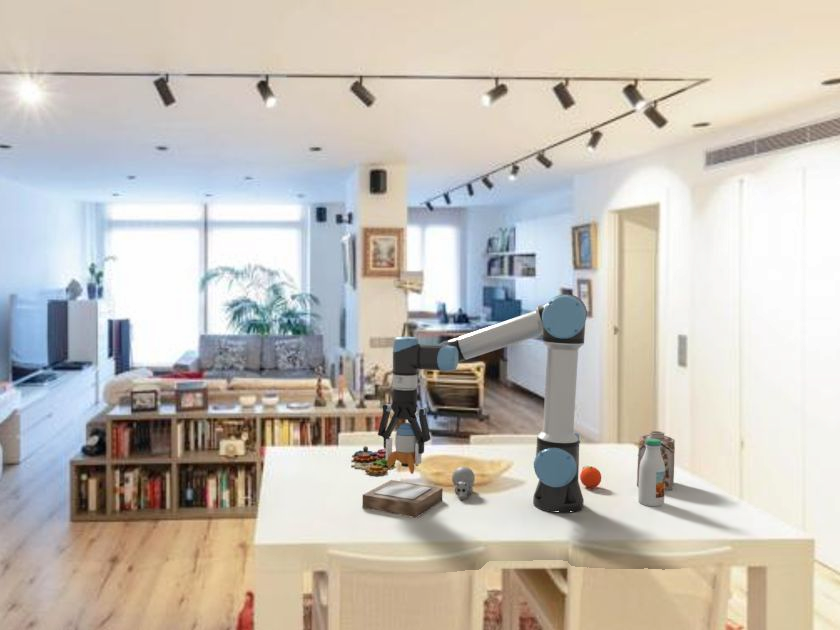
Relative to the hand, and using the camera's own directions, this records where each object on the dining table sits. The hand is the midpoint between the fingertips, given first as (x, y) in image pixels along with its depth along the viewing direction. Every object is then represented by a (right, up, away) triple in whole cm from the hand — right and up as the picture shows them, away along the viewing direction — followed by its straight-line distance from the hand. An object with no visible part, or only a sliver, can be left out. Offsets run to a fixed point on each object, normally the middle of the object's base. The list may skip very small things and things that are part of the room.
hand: (403, 461), depth 225 cm
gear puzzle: (-12, -11, +47) cm, 49 cm away
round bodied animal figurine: (+18, -13, +11) cm, 25 cm away
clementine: (+61, -13, +22) cm, 66 cm away
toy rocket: (0, -2, 0) cm, 2 cm away
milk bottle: (+77, -14, +6) cm, 78 cm away
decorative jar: (+85, -13, +26) cm, 90 cm away
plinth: (0, -13, +1) cm, 13 cm away
